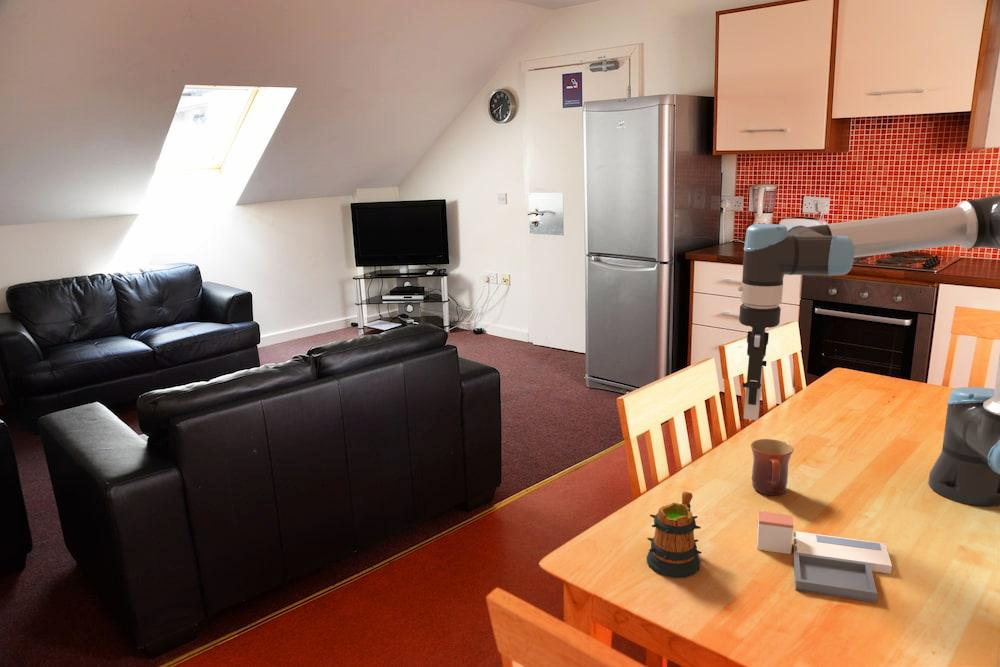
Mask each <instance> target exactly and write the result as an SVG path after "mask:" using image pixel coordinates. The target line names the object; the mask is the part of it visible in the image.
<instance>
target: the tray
mask: <svg viewBox="0 0 1000 667" xmlns="http://www.w3.org/2000/svg"><path fill="white" fill-rule="evenodd" d="M792 562H793V574H794V584H795V591H799V592H806V593H813V594H818V595H819V594H820V595H825V596H831V597H837V598H838V597H839V598H844V599H851V600H859V601H862V602H869V603H870V602H871V603H877V598H878V590H877V587H876V584H875V583H876V582H875V579H874V575H873V571H871V567H870V563H867V562H860V561H853V560H846V559H839V558H832V557H825V556H818V555H811V554H804V553H797V552H794V551H793V560H792Z"/></svg>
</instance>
